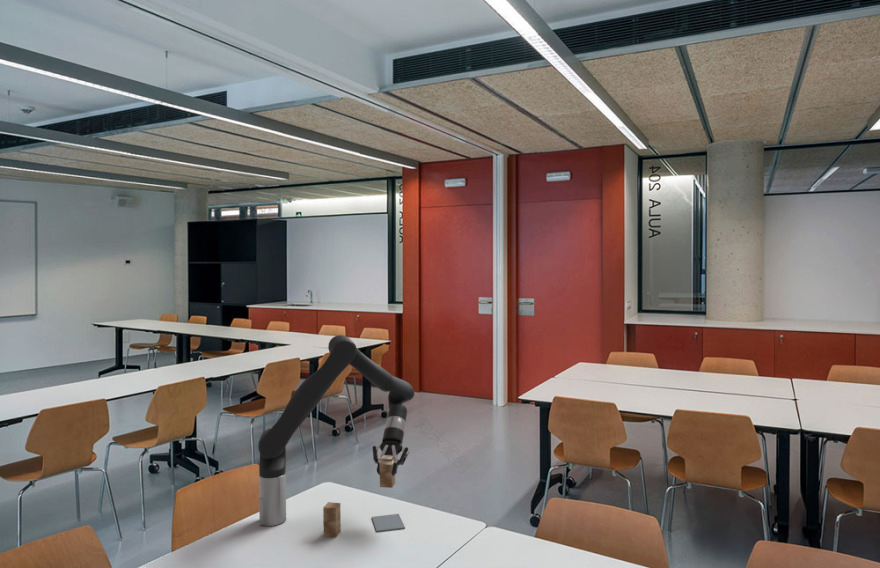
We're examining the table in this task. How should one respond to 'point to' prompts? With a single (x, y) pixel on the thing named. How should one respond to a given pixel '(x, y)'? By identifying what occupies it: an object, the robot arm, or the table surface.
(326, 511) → the plain box
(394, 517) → the slate mat
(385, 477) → the label box
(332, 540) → the table surface
